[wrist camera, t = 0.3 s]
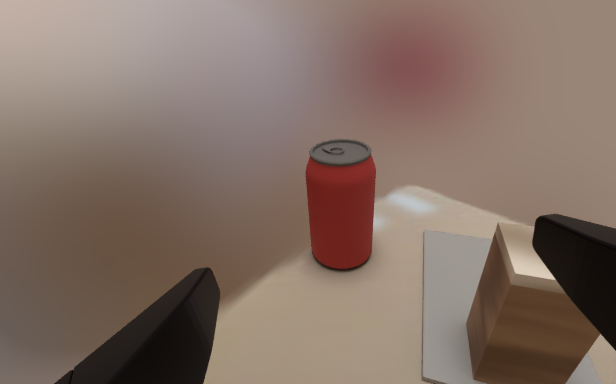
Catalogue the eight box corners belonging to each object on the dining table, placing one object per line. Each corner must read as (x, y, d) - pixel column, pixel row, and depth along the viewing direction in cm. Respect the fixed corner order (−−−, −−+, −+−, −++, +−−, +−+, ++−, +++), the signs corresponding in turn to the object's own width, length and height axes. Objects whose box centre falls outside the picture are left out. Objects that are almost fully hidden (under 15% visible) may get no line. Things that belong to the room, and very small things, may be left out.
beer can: (334, 225, 37) (331, 132, 31) (382, 245, 33) (390, 144, 27) (299, 255, 32) (288, 154, 26) (350, 282, 29) (351, 172, 23)
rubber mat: (622, 437, 17) (626, 434, 17) (421, 379, 21) (422, 376, 20) (536, 248, 31) (537, 245, 31) (424, 232, 34) (424, 229, 34)
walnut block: (552, 401, 19) (628, 292, 14) (473, 379, 20) (515, 273, 15) (532, 338, 22) (586, 233, 17) (466, 323, 24) (498, 222, 19)
